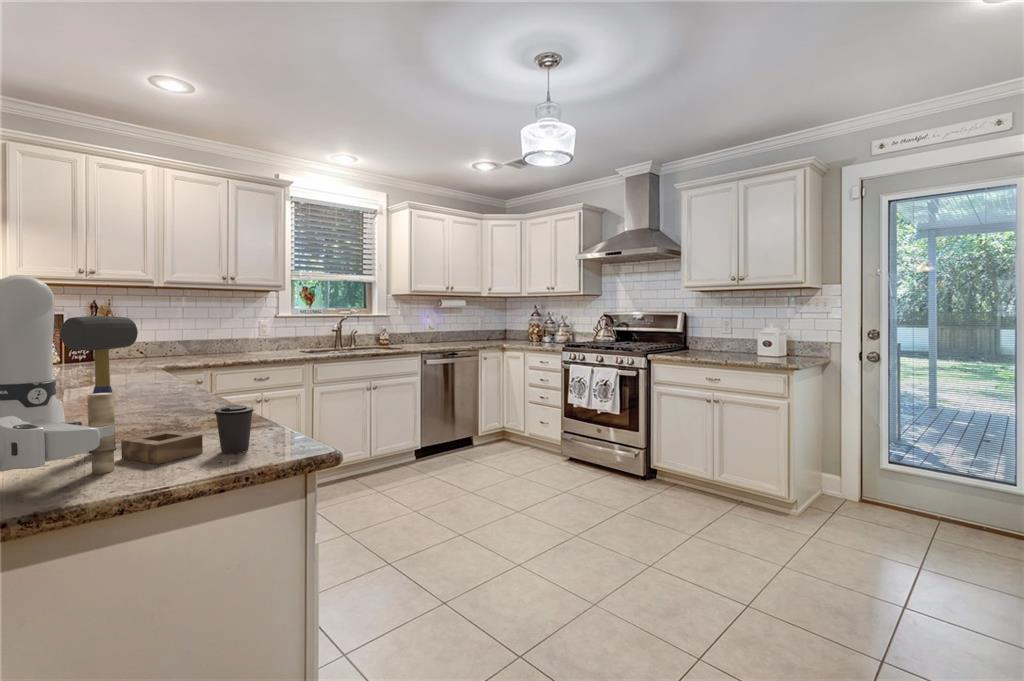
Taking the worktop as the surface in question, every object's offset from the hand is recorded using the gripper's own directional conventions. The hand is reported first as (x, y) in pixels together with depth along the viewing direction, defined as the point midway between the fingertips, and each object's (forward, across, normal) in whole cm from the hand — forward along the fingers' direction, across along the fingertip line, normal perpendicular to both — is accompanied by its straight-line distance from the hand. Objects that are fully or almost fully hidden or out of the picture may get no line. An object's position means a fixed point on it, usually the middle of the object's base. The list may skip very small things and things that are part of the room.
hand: (95, 427), depth 99 cm
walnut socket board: (+13, -1, -9) cm, 16 cm away
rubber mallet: (+10, -15, -9) cm, 20 cm away
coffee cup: (+22, +10, -9) cm, 26 cm away
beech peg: (+1, 0, -9) cm, 9 cm away
